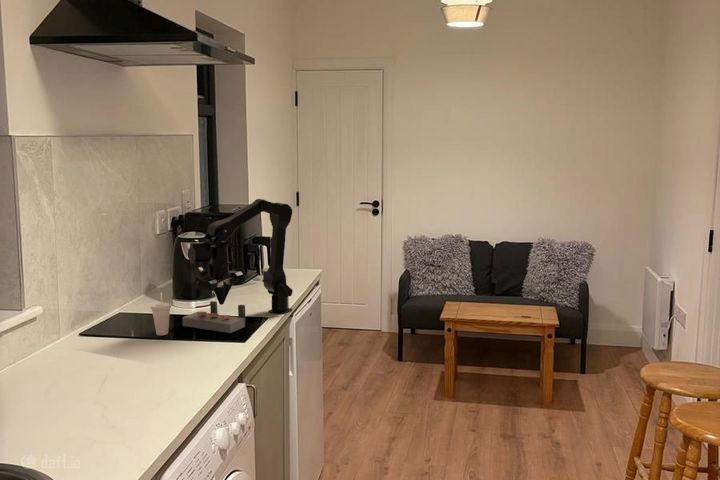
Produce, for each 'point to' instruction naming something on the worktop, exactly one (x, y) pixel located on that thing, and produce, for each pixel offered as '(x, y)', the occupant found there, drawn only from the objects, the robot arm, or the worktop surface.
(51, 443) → the worktop surface
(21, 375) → the worktop surface
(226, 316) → the paddle right
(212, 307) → the peg
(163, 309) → the smoothie
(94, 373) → the worktop surface
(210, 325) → the power strip
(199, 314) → the paddle left
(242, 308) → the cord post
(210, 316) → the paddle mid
